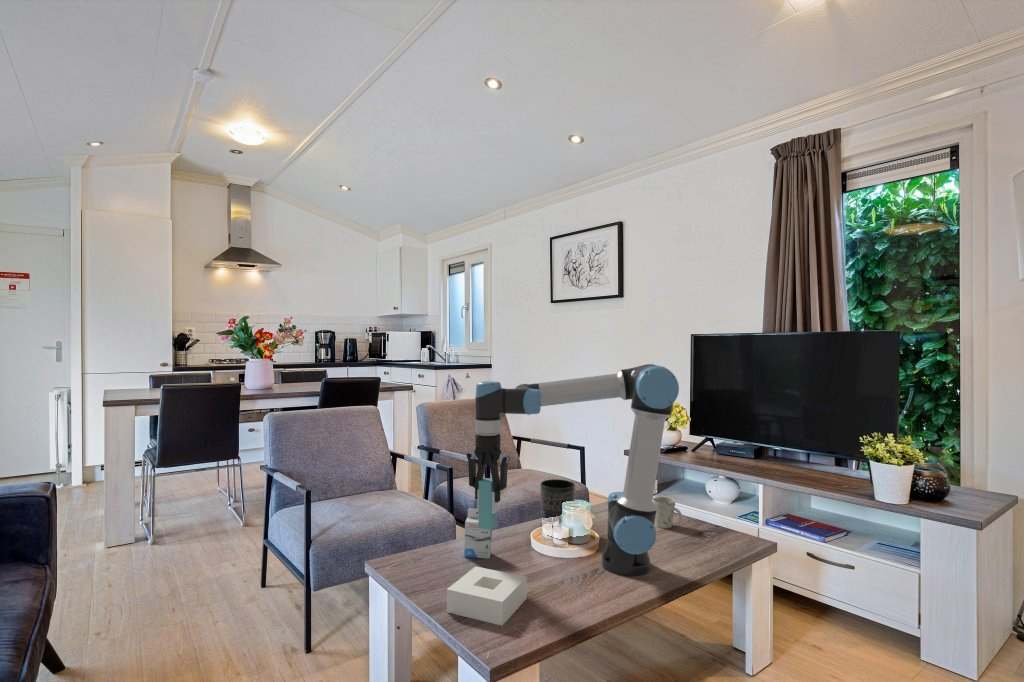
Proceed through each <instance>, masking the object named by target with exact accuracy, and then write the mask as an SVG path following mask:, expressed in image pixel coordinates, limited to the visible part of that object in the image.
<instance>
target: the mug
mask: <svg viewBox="0 0 1024 682" xmlns="http://www.w3.org/2000/svg"><path fill="white" fill-rule="evenodd" d="M652 501H653V503H654V504H655V505H656V507H657V510H656V517H655V524H654V525H655V527H657V528H660V529H670V528H672V526H675V527H677V526H680V525H681V523H682V522H683V514H682V512H681V510H679V508H676V507H675V506H676V500H675V499H673V498H672V497H665V496H657V497H653V500H652ZM674 513H677V515H678V517H679V518H678V521H677V522H673V521H674V520H673V519H674V515H675V514H674Z"/></svg>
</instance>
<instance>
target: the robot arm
mask: <svg viewBox="0 0 1024 682" xmlns="http://www.w3.org/2000/svg"><path fill="white" fill-rule="evenodd" d="M679 384H680V383H679V382H678V379H677V377H676V376H675V374H674V373H673V372H672V371H671V370H670V369H669V368H666V367H665V366H661V365H657V364H653V363H647V364H643V365H639V366H635V367H630V368H625V369H618V371H617V372H616V373H612V374H611V373H610V374H609V373H608V374H603V375H595V376H594V375H592V376H587V377H586V376H585V377H577V378H571V379H560V380H553V381H544V382H537V383H530V384H528V383H521V384H519V385H517V386H516V387H514V388H504V387H503V388H502V384H501V382H500V381H494V380H490V381H489V380H487V381H486V380H483V381H478V382H477V384H475V385H476V386H475V398H474V399H475V430H474V431H475V433H476V434H475V438H474V439H475V441H474V442H475V443H474V444H475V449H474V451H471V452H468V453H466V459H467V461H468V462H467V463H468V486H469V487H473V489H474V499H475V500H476V501H477V507H476V509H477V512H476V513H479V481H480V480H482V479H484V474H485V469H486V466H488V468H489V469H490V473H491V479H492V481H493V486H494V490H493V491H492V514H495V513H496V514H497V513H498V512H499V502H500V501H501V492H502V491H504V490H505V489H507V486H508V485H507V484H508V464H509V461H510V458H511V457H510V455H505V454H503V453H502V450H501V441H502V440H501V436H502V435H501V434H500V432H501V427H502V426H501V424H502V422H501V417H502V416H501V415H502V414H504V415H506V414H508V415H510V414H511V415H527V416H530V415H538V414H540V413H541V407H546V406H556V405H557V406H558V405H563V404H564V405H565V404H566V405H567V404H572V403H574V404H575V403H582V402H583V403H584V402H590V401H601V400H609V399H616V398H619V399H620V398H621V400H623V401H626V400H627V401H628V400H631V404H630V409H631V411H632V413H634V421H633V427H632V434H631V438H630V445H629V446H630V447H629V452H628V457H627V458H628V459H627V465H626V472H625V477H624V484H623V490H622V491H614V492H613V491H612V492H610V493H609V495H608V499H607V502H606V503H607V540H606V543H605V546H604V549H603V552H602V554H601V565H602V567H603V568H604V569H605V570H607V571H608V572H611V573H614V574H618V575H623V576H640V575H643V574H646V573H648V572H649V571H650V569H651V559H650V555H649V551H650V550H651V549H652V548H653V546H654V545H655V543H656V539H657V530H656V526H655V525H656V524H655V517H656V510H657V507H656V505H655V504H654V503H653V498H654V492H655V487H656V480H657V474H658V468H659V460H660V454H661V447H662V443H663V442H662V441H663V435H664V431H665V422H666V420H667V419H668V418H670V417H671V416H672V413H673V407H674V403H675V402H676V400H677V398H678V396H679V392H680V385H679ZM476 458H477V459H476ZM499 459H500V460H499ZM476 460H478V461H477V462H478V463H477V464H476ZM498 461H500V465H499V463H498ZM499 466H500V468H498V467H499ZM499 469H500V472H499Z"/></svg>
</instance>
